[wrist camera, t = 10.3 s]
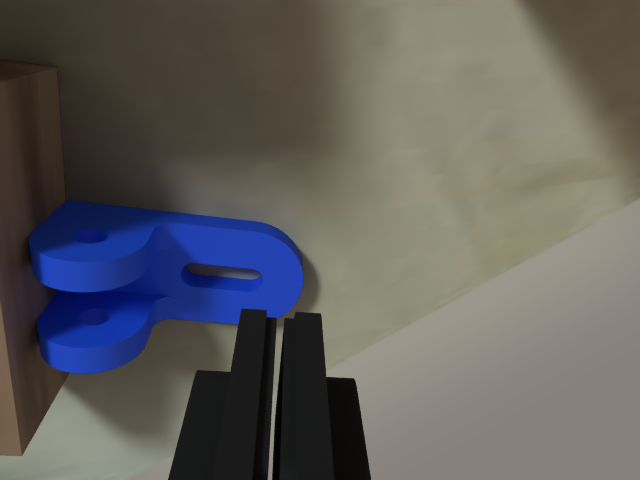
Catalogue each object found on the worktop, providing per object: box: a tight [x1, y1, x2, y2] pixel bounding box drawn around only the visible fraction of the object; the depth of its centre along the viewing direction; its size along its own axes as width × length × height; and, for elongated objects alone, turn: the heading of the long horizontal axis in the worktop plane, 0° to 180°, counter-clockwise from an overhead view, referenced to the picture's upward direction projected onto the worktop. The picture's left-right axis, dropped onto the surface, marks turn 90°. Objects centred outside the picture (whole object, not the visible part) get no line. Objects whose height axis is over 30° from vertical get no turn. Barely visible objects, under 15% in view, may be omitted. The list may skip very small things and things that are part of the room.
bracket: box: [29, 200, 303, 374], centre depth 35 cm, size 18×8×9 cm, turn 81°
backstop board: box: [0, 59, 69, 456], centre depth 32 cm, size 4×24×10 cm, turn 171°
